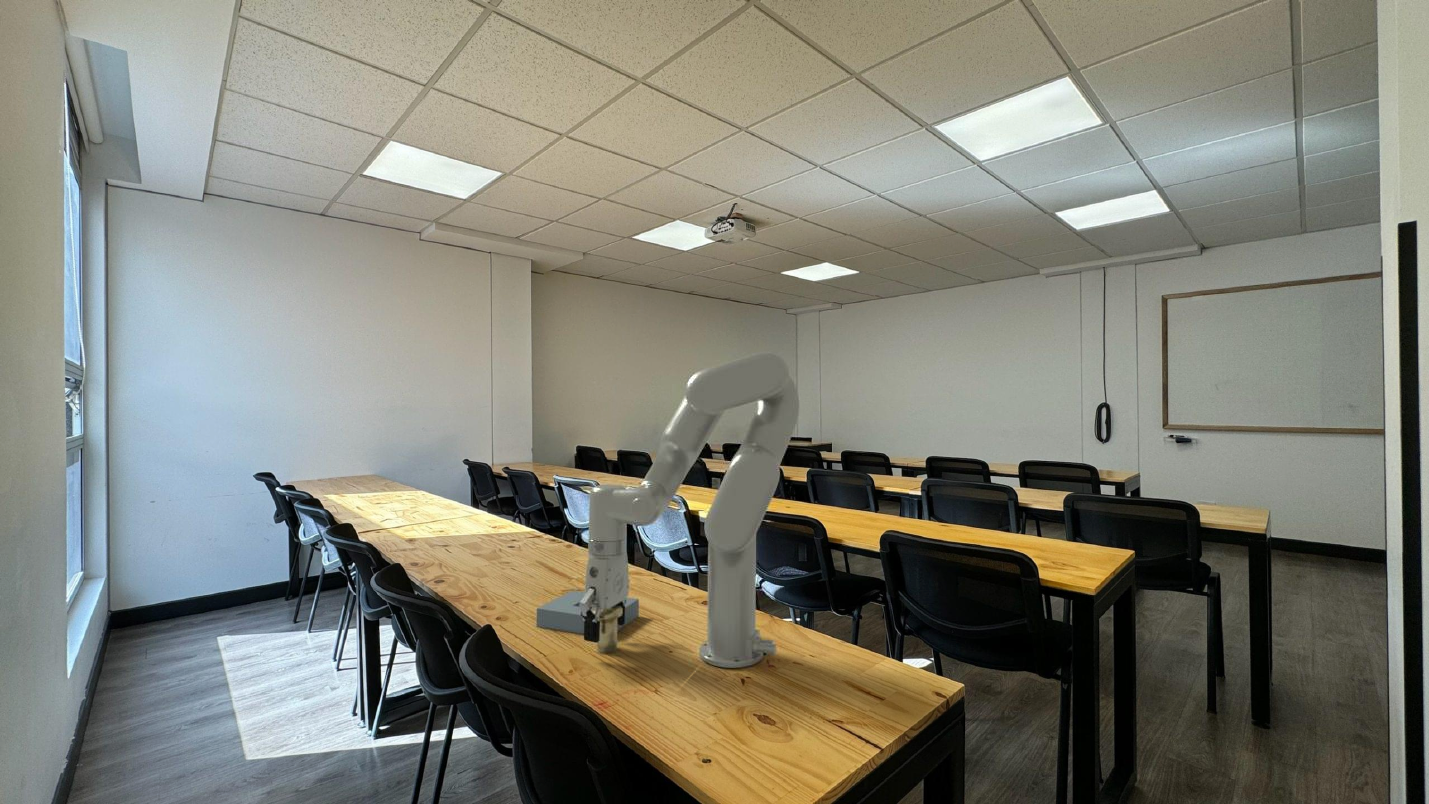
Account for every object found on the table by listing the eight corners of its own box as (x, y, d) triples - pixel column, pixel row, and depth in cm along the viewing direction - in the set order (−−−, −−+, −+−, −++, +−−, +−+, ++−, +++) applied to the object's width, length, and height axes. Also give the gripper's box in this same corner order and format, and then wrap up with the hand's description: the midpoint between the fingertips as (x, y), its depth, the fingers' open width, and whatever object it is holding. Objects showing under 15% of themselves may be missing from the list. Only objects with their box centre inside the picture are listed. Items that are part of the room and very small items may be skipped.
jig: (638, 616, 134) (638, 598, 134) (607, 638, 121) (607, 619, 121) (573, 606, 141) (573, 590, 141) (536, 626, 128) (536, 608, 128)
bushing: (627, 646, 117) (627, 606, 117) (612, 657, 112) (612, 616, 112) (602, 641, 119) (602, 603, 119) (585, 652, 114) (586, 612, 114)
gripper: (600, 558, 106) (597, 651, 106) (643, 540, 123) (641, 620, 122) (566, 554, 109) (563, 645, 109) (613, 536, 125) (610, 615, 125)
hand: (604, 632), depth 116 cm, fingers open, 9 cm apart
